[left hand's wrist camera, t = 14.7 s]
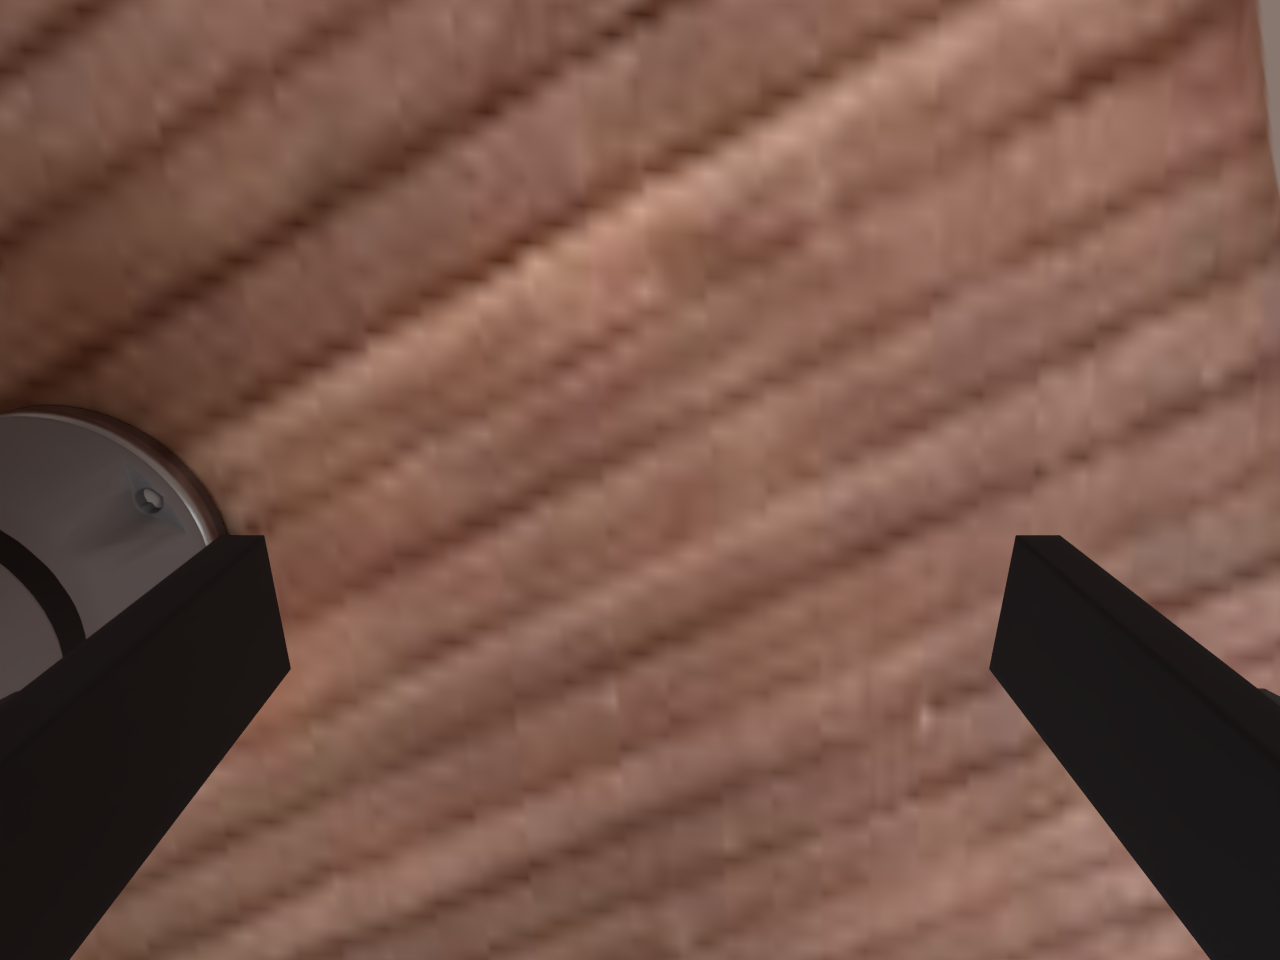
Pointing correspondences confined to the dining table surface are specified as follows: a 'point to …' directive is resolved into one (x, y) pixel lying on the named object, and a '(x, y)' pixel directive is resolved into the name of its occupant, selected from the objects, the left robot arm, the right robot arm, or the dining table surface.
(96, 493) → the left robot arm
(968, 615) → the dining table surface
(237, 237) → the dining table surface
